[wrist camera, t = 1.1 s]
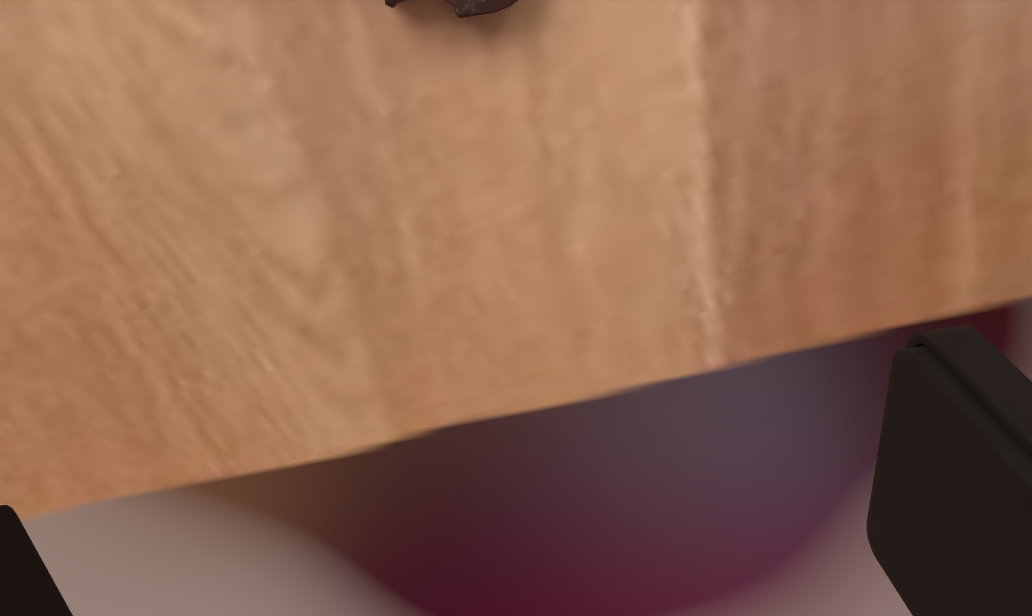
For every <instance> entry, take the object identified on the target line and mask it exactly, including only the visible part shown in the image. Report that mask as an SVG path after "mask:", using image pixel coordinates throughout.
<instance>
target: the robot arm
mask: <svg viewBox="0 0 1032 616" xmlns="http://www.w3.org/2000/svg"><path fill="white" fill-rule="evenodd" d="M867 535H868V540H869V543H870V546H871V549H872V552H873V553H874V555H875V557H876V559H877V561H878V562H879V564H880V565H881V567H882V568H883V570H884V571H885V573H886V575H887V576H888V578H889V579H890V581H891V582H892V584H893V585H894V587H895V589H896V590H897V592H898V593H899V595H900V596H901V598H902V600H903V601H904V603H905V604H906V606H907V607H908V609H909V610H910V612H911V614H912V615H913V616H1032V382H1031V381H1030V380H1029V379H1028V378H1027V377H1026V376H1025V375H1024V374H1023V373H1022V372H1021V371H1020V370H1019V369H1018V368H1017V367H1016V366H1014V365H1013V364H1012V363H1011V362H1010V361H1009V360H1008V359H1007V358H1006V357H1005V356H1004V355H1003V354H1002V353H1001V352H1000V351H999V350H998V349H996V348H995V347H994V346H993V345H992V344H991V343H990V342H989V341H988V340H987V339H986V338H985V337H984V336H983V335H982V334H981V333H979V332H978V331H977V330H976V329H974V328H972V327H971V326H965V325H963V326H956V327H950V328H945V329H939V330H933V331H927V332H921V333H917V334H914V335H912V336H911V337H910V339H909V340H908V341H907V345H906V348H905V349H901V350H899V351H897V352H896V354H895V355H894V358H893V361H892V367H891V374H890V380H889V386H888V392H887V399H886V405H885V411H884V418H883V424H882V431H881V437H880V443H879V449H878V455H877V461H876V468H875V474H874V481H873V487H872V493H871V499H870V505H869V512H868V518H867ZM0 616H73V615H72V613H71V612H70V610H69V608H68V606H67V605H66V603H65V601H64V599H63V597H62V595H61V594H60V592H59V590H58V588H57V586H56V585H55V583H54V581H53V579H52V577H51V575H50V574H49V572H48V570H47V568H46V566H45V565H44V563H43V561H42V559H41V557H40V556H39V554H38V552H37V550H36V548H35V547H34V545H33V543H32V541H31V539H30V538H29V536H28V534H27V532H26V530H25V529H24V527H23V525H22V523H21V521H20V519H19V518H18V516H17V514H16V513H15V511H14V510H13V509H12V508H11V507H9V506H8V505H1V506H0Z"/></svg>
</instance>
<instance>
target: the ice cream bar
mask: <svg viewBox="0 0 1032 616" xmlns="http://www.w3.org/2000/svg"><path fill="white" fill-rule="evenodd" d="M403 1H407V0H385V4H386V5H388V6H389V7H391V8H392V7H395V5H396V4H397V3H400V2H403ZM444 1H447V2H449V3H450V4H452V5H454V7H455V11H456V14H457V17H460V18H465V17H470V16H475V15H482V14H488V13H493V12H498V11H500V10H502V9H505V8H507V7H509V6H511V5H513V4H514V3H515V2H517V1H518V0H444Z"/></svg>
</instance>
